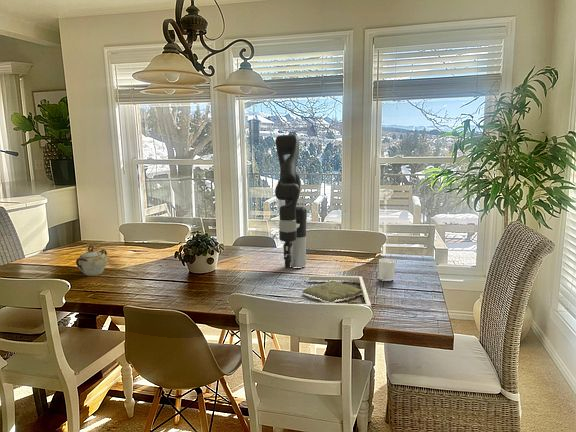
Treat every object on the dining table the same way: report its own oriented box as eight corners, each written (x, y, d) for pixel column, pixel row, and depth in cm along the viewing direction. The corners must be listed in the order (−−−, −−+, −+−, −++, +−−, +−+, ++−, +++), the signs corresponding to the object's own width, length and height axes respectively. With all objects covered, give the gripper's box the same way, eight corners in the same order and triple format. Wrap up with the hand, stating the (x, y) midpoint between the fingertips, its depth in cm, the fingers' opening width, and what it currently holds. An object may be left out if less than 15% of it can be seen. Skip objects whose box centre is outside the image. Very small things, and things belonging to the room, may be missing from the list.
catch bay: (309, 281, 202) (309, 275, 202) (361, 282, 200) (361, 276, 200) (306, 311, 166) (306, 303, 165) (370, 312, 164) (371, 305, 163)
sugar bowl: (89, 280, 204) (86, 251, 202) (66, 277, 210) (64, 248, 207) (118, 269, 223) (116, 242, 220) (97, 266, 228) (94, 240, 225)
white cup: (378, 282, 200) (379, 262, 199) (377, 277, 208) (378, 258, 206) (395, 282, 199) (396, 262, 198) (393, 277, 207) (394, 258, 205)
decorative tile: (302, 295, 184) (302, 288, 183) (333, 285, 197) (333, 278, 196) (333, 308, 170) (333, 299, 169) (364, 296, 183) (364, 288, 182)
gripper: (280, 225, 187) (281, 260, 190) (277, 232, 173) (278, 270, 176) (297, 226, 186) (297, 260, 189) (295, 233, 172) (295, 270, 175)
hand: (288, 265), depth 183 cm, fingers open, 8 cm apart
